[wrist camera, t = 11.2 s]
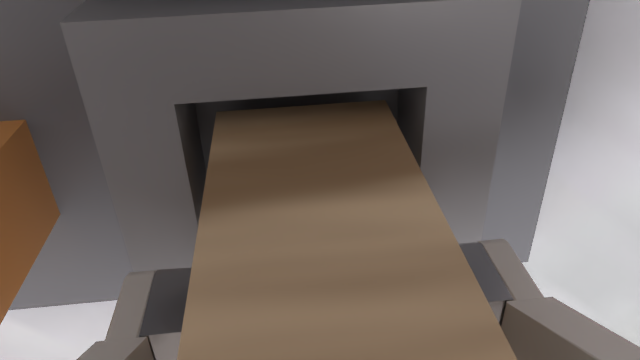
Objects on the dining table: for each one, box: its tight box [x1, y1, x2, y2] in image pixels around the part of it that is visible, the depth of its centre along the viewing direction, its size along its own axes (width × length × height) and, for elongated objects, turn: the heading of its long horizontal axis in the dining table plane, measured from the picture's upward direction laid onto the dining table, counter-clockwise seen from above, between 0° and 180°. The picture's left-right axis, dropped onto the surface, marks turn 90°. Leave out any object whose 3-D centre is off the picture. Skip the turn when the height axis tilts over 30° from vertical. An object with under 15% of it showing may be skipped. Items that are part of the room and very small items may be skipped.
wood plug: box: [177, 100, 517, 360], centre depth 10 cm, size 4×4×8 cm
